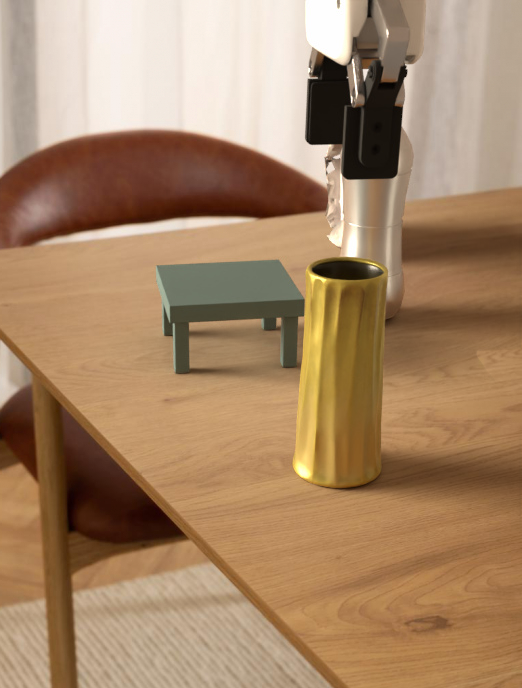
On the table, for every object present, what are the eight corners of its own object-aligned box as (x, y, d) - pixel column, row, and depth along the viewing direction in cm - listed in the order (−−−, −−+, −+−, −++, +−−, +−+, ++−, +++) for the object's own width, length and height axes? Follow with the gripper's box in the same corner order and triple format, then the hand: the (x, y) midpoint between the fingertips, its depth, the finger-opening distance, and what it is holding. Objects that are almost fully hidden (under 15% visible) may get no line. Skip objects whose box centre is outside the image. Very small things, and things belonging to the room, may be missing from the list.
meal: (380, 264, 123) (389, 136, 117) (339, 265, 123) (346, 136, 117) (357, 226, 136) (364, 109, 130) (320, 226, 136) (325, 109, 130)
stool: (277, 323, 108) (279, 259, 105) (302, 368, 98) (305, 298, 95) (157, 329, 107) (155, 265, 104) (170, 375, 97) (169, 305, 94)
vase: (347, 443, 85) (359, 249, 79) (399, 476, 81) (415, 274, 74) (275, 461, 83) (281, 263, 76) (324, 497, 78) (334, 289, 71)
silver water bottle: (337, 330, 106) (348, 98, 97) (327, 305, 112) (337, 85, 103) (408, 328, 106) (427, 97, 97) (395, 304, 112) (411, 84, 103)
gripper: (490, -166, 57) (453, 192, 65) (391, -158, 72) (371, 131, 80) (337, -167, 56) (318, 195, 64) (270, -159, 71) (262, 133, 79)
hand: (348, 159), depth 72 cm, fingers open, 9 cm apart
